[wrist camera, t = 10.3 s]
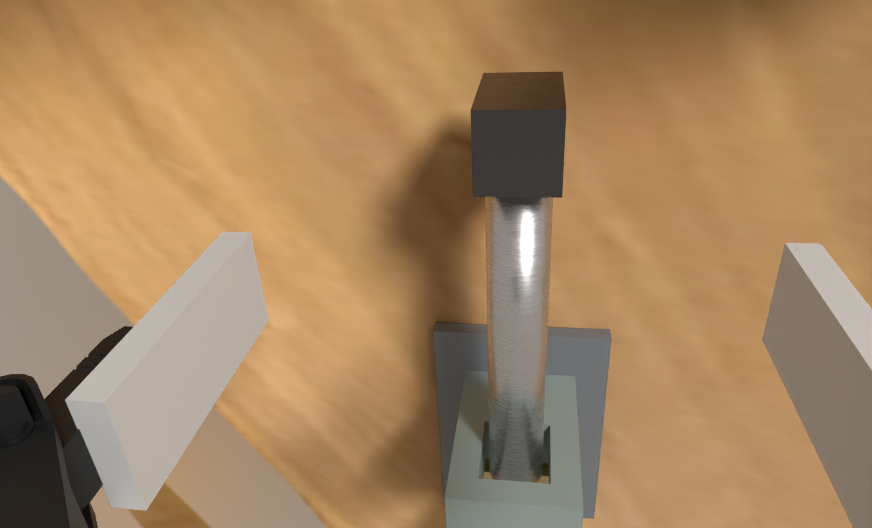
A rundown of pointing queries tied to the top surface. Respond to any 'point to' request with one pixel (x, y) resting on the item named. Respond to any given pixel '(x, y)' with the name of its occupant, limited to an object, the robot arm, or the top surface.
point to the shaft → (518, 253)
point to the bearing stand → (563, 430)
